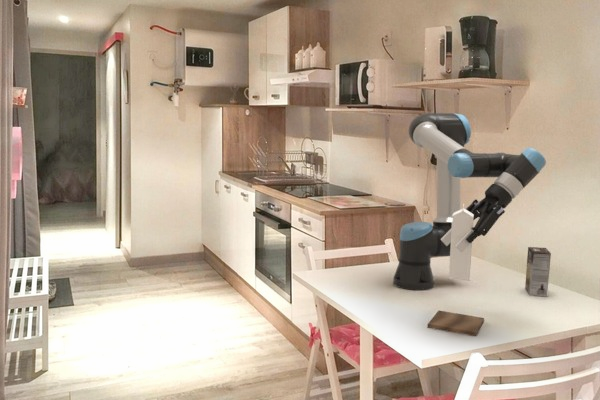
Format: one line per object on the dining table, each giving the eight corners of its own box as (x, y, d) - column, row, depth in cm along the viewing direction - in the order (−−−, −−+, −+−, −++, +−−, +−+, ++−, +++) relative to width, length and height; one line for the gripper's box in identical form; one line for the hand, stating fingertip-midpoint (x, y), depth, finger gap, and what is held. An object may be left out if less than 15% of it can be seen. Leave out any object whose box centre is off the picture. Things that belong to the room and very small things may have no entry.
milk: (448, 278, 165) (452, 205, 162) (449, 273, 170) (453, 202, 167) (470, 280, 163) (474, 206, 160) (470, 275, 169) (474, 203, 166)
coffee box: (524, 288, 209) (527, 246, 206) (542, 289, 207) (545, 247, 205) (529, 295, 200) (532, 251, 198) (548, 297, 198) (551, 252, 196)
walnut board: (427, 327, 165) (427, 323, 165) (438, 313, 178) (438, 310, 178) (476, 336, 159) (476, 332, 159) (483, 321, 172) (484, 317, 171)
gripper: (532, 205, 157) (477, 262, 155) (490, 195, 177) (441, 246, 176) (516, 186, 155) (461, 244, 153) (476, 179, 175) (427, 230, 174)
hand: (450, 245), depth 164 cm, fingers closed on milk, 8 cm apart
